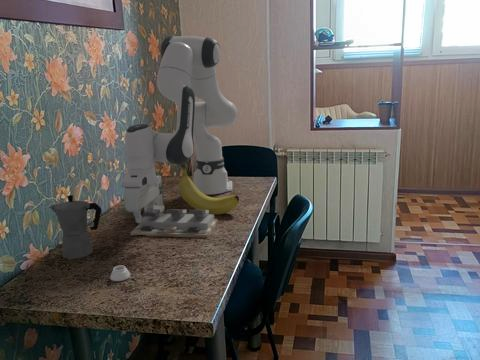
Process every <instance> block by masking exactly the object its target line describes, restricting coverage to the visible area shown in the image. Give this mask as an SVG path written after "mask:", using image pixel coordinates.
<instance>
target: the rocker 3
mask: <svg viewBox="0 0 480 360" xmlns="http://www.w3.org/2000/svg"><path fill="white" fill-rule="evenodd" d="M188 214H194V217H201V218H204V214H209V210H196V209H189V210H188Z"/></svg>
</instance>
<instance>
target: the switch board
mask: <svg viewBox="0 0 480 360" xmlns="http://www.w3.org/2000/svg"><path fill="white" fill-rule="evenodd" d="M218 221H219V220H218V218H214V221H213V223H212V224H211V225H210V227H209V228H208V229H200V227H189V229H184V228H177V227H165V228H154V226H143V227H139V224H138V225H137V226H135V228H134V229H132V230H131V231H130V235H129V236H133V235H146V236H145V237H165V238H166V237H169V238H171V237H172V238H173V237H174V238H198V239H199V238H203V239H204V238H205V239H207V238H209V236H210V235H211V233H212V231H213V230H214V228H215V227H216V225H217V224H218Z"/></svg>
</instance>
